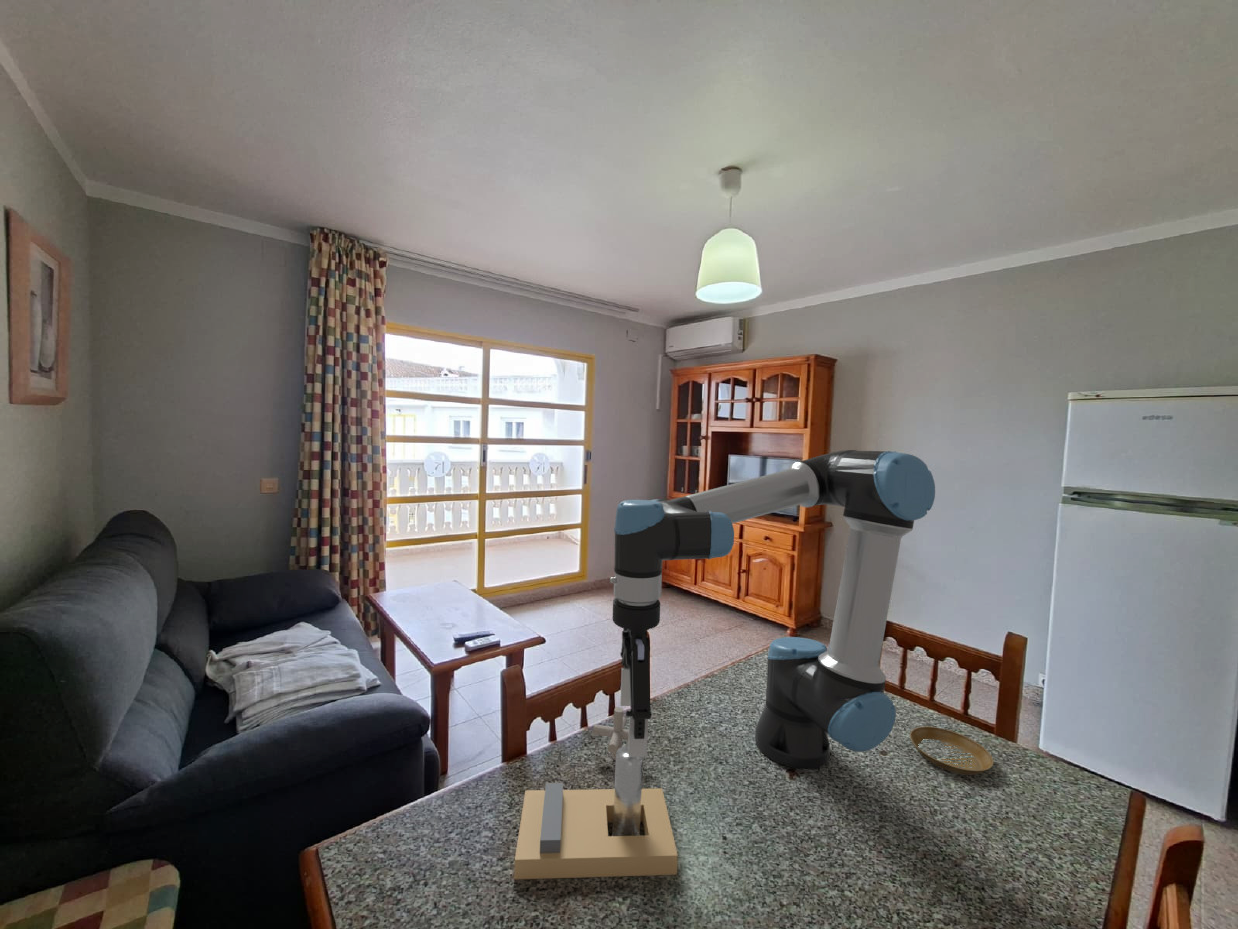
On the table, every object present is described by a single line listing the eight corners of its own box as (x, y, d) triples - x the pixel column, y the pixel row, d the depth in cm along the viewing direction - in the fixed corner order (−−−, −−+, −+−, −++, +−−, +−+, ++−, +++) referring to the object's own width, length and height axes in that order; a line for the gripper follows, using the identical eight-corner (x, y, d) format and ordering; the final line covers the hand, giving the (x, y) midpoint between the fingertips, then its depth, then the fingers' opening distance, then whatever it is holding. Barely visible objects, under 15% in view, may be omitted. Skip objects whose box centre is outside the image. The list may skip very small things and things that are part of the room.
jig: (661, 804, 87) (662, 777, 87) (676, 874, 73) (678, 842, 73) (524, 807, 85) (525, 779, 85) (514, 879, 71) (515, 846, 71)
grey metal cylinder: (637, 826, 82) (641, 745, 81) (640, 848, 78) (644, 763, 77) (611, 827, 82) (615, 746, 81) (613, 849, 77) (617, 763, 77)
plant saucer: (1003, 791, 95) (1004, 778, 95) (916, 769, 100) (917, 757, 100) (979, 748, 108) (980, 736, 108) (903, 731, 114) (904, 720, 114)
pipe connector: (636, 778, 94) (639, 727, 93) (586, 769, 96) (588, 719, 95) (644, 746, 103) (646, 700, 103) (598, 738, 105) (600, 693, 105)
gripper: (608, 575, 90) (605, 688, 91) (619, 629, 65) (614, 783, 66) (649, 575, 90) (645, 687, 91) (675, 629, 65) (669, 782, 67)
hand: (632, 728), depth 79 cm, fingers open, 13 cm apart
